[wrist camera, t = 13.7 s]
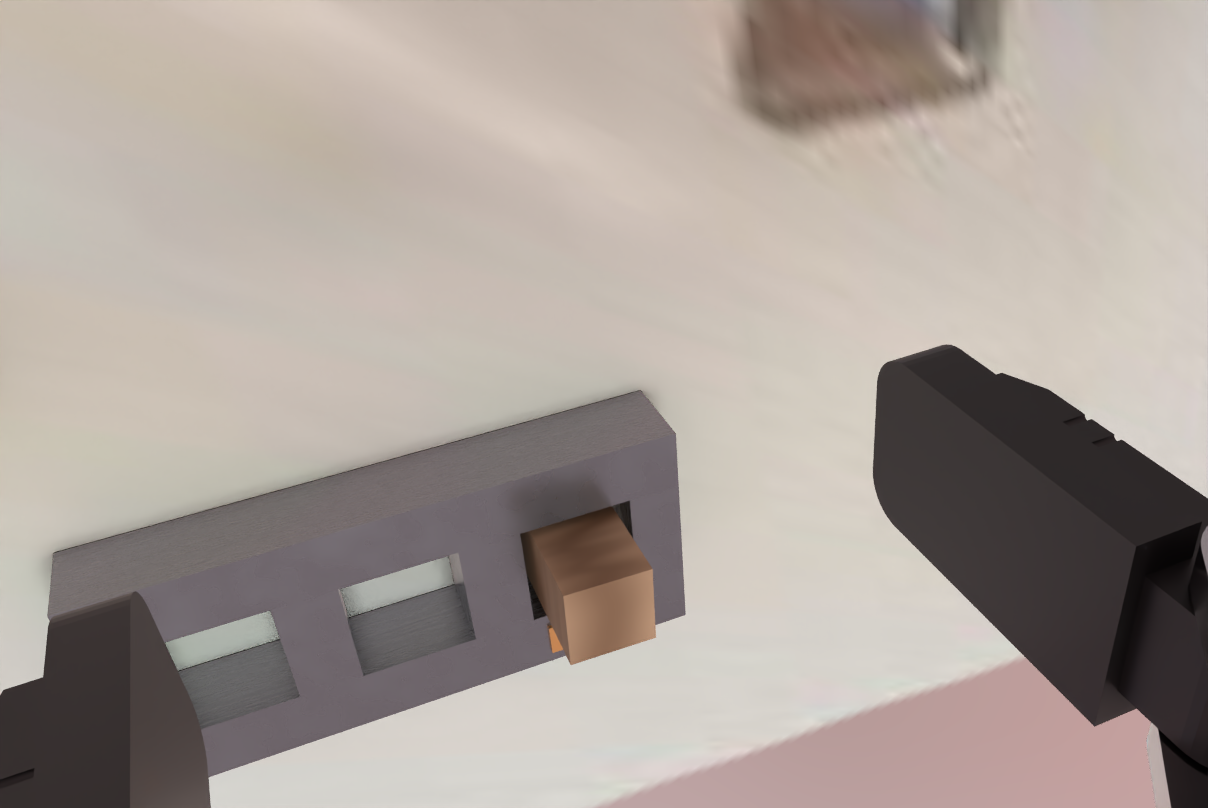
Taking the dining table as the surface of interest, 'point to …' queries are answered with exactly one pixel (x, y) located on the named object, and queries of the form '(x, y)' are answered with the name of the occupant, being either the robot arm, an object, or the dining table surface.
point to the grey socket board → (379, 547)
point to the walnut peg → (591, 583)
